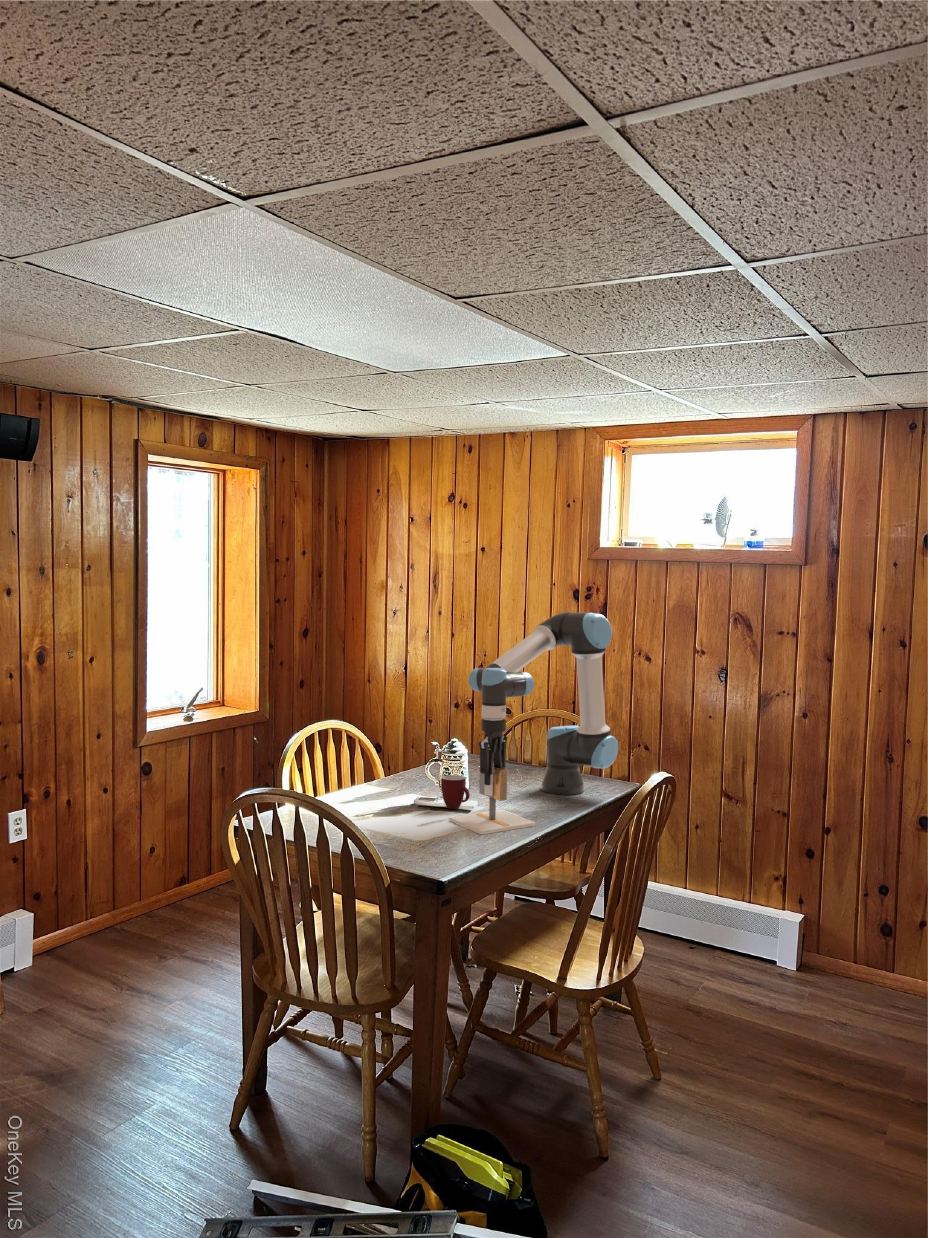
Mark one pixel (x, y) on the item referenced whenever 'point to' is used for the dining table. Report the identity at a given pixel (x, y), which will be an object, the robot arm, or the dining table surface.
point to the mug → (454, 790)
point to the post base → (492, 820)
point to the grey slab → (496, 784)
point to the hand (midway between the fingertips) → (492, 793)
